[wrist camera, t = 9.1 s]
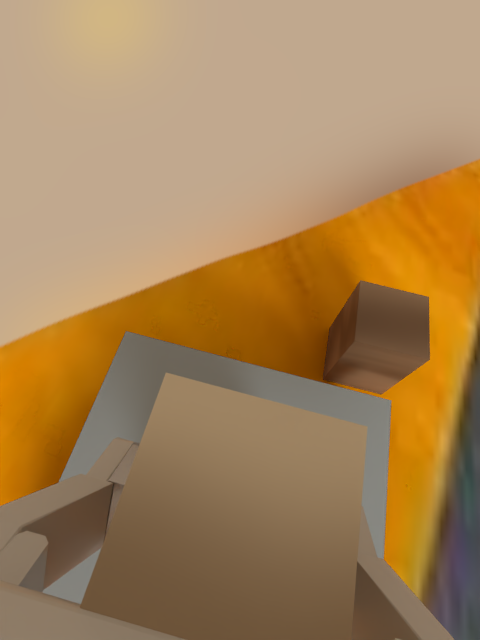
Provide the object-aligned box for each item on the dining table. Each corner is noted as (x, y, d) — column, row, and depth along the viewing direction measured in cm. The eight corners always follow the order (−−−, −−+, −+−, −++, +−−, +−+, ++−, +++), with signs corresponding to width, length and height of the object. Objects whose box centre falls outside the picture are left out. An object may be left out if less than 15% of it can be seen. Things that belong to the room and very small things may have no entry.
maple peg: (188, 461, 16) (166, 372, 7) (268, 483, 16) (367, 426, 6) (159, 556, 14) (72, 627, 5) (249, 582, 14) (345, 709, 5)
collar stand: (140, 365, 22) (125, 331, 18) (356, 422, 21) (391, 400, 17) (27, 642, 16) (-32, 683, 12) (328, 734, 15) (371, 809, 11)
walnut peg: (329, 328, 24) (360, 280, 19) (384, 341, 24) (428, 297, 19) (322, 379, 23) (354, 340, 18) (381, 394, 22) (429, 359, 18)
